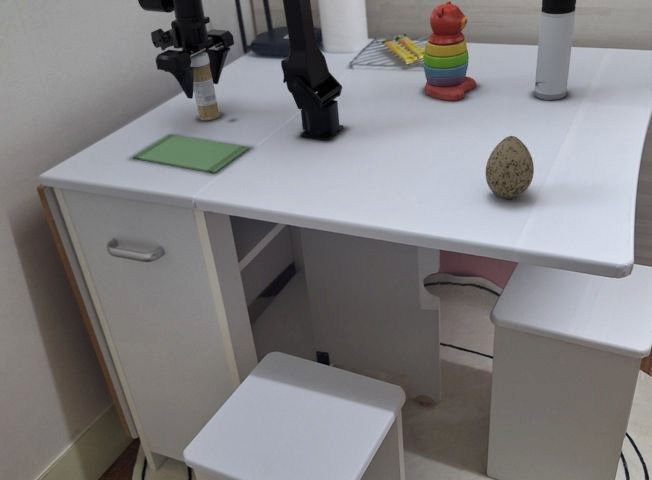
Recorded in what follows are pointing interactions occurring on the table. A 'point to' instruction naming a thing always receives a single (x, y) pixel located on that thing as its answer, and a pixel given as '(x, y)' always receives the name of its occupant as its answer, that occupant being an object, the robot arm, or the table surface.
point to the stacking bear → (447, 55)
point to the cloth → (191, 153)
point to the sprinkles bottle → (204, 87)
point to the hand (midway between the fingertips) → (203, 90)
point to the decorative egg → (509, 168)
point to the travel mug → (554, 48)
